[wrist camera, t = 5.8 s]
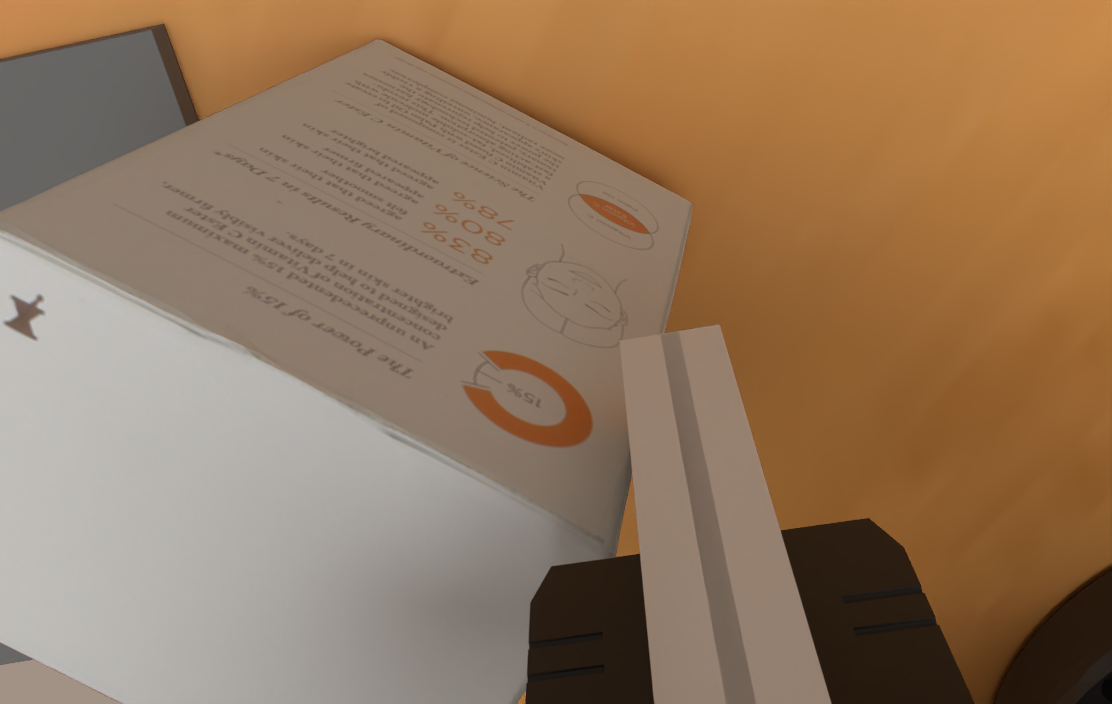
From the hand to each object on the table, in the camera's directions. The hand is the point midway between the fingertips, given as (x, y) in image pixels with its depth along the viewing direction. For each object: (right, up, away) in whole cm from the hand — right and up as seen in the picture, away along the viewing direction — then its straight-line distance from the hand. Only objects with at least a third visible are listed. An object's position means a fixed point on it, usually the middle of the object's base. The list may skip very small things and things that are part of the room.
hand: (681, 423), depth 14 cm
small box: (-3, +4, +11) cm, 12 cm away
